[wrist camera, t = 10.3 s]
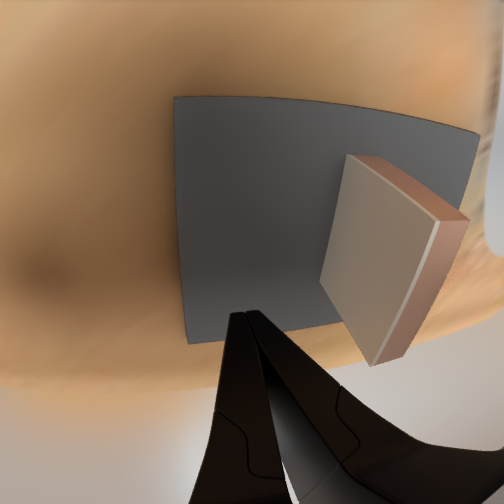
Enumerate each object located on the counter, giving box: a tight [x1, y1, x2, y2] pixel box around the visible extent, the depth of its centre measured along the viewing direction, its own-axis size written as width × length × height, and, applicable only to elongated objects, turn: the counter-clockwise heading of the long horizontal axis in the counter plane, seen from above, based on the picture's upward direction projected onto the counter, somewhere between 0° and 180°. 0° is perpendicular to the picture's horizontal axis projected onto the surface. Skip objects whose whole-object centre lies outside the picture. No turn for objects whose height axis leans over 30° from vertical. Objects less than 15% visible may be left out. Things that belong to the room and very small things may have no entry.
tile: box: [319, 154, 470, 367], centre depth 11 cm, size 2×6×5 cm, turn 176°
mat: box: [174, 96, 481, 344], centre depth 14 cm, size 14×11×1 cm
